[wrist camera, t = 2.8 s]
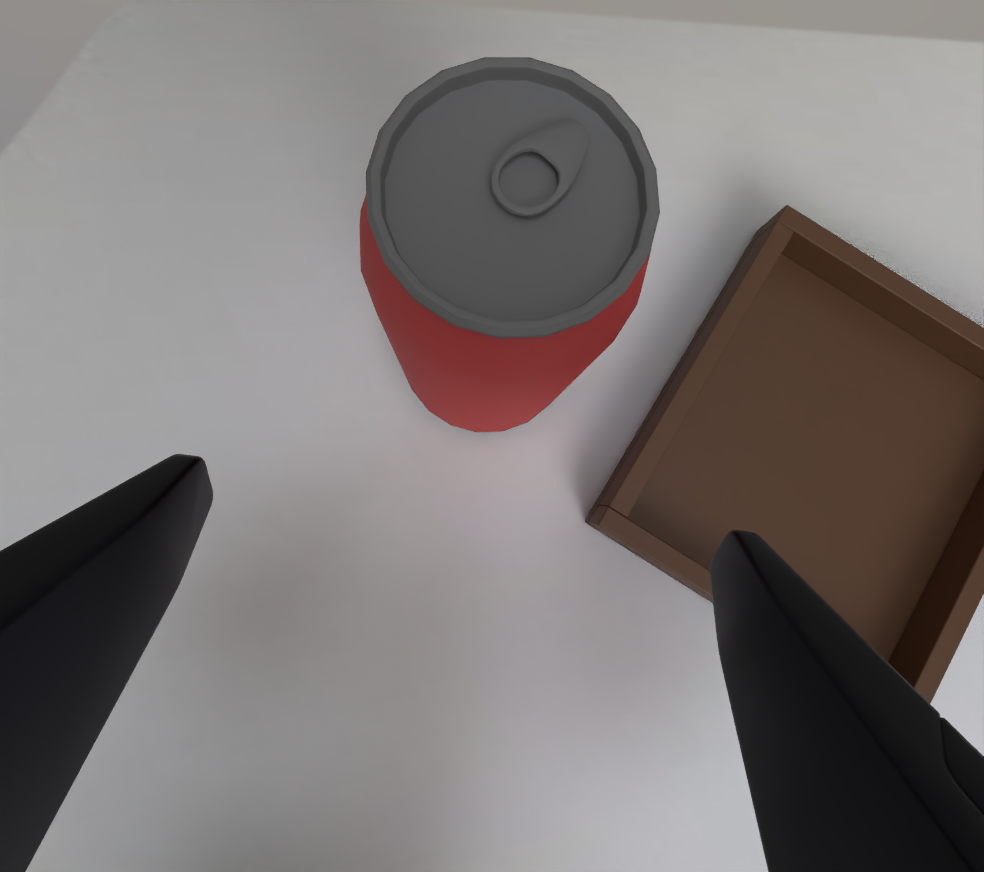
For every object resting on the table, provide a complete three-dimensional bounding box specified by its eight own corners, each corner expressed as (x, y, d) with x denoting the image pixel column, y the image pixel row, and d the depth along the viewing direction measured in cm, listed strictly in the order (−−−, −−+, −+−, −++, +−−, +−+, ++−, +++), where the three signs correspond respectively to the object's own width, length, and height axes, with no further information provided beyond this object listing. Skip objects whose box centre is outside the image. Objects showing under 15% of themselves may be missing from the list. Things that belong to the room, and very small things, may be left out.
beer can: (598, 349, 22) (757, 185, 10) (490, 468, 22) (529, 439, 10) (479, 243, 22) (502, -38, 11) (368, 357, 22) (258, 192, 10)
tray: (874, 705, 21) (919, 728, 19) (583, 521, 22) (597, 524, 19) (1027, 398, 23) (1083, 389, 21) (757, 229, 23) (787, 204, 21)
